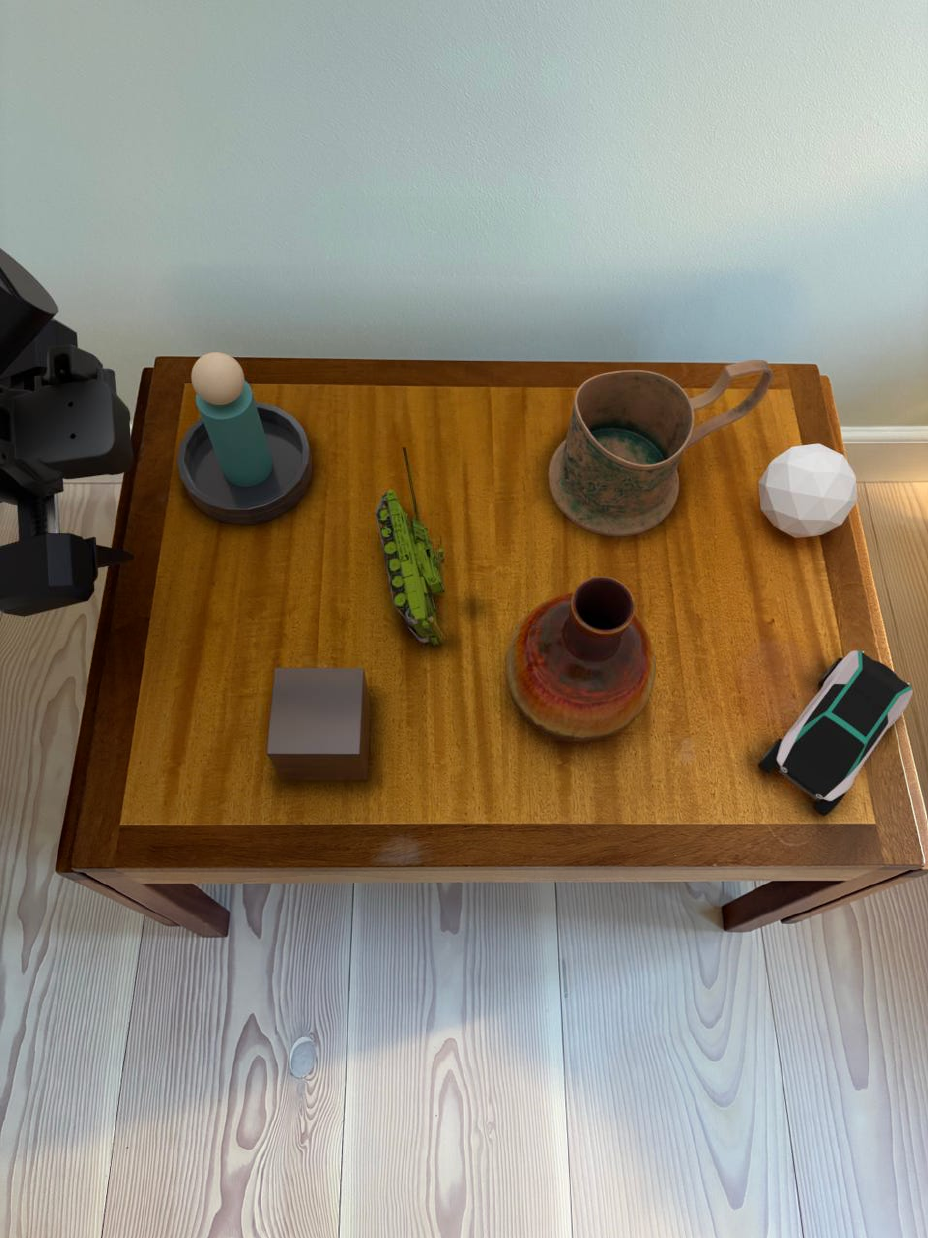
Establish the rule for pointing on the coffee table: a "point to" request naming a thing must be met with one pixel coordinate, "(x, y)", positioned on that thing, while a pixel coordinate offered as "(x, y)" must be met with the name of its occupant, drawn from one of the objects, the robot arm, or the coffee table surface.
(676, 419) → the mug
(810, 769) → the toy car
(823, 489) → the geometric ball
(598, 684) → the vase
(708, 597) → the coffee table surface
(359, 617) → the coffee table surface
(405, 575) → the toy tank
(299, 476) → the round grey tray
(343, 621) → the coffee table surface
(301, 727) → the walnut block
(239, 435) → the wooden doll
